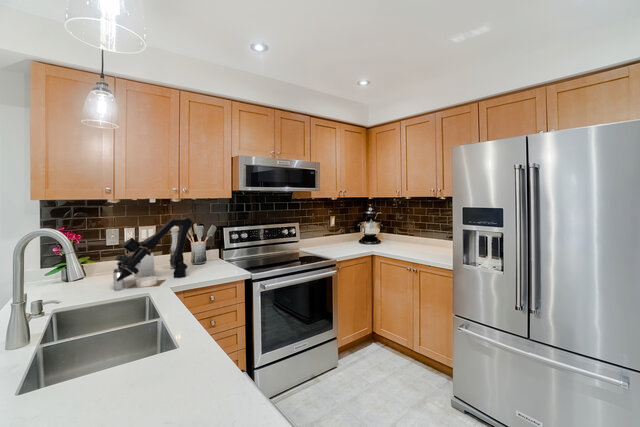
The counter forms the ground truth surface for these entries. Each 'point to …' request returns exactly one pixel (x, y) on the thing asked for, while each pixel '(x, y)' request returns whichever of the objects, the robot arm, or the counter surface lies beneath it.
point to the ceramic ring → (146, 281)
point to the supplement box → (146, 266)
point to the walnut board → (147, 286)
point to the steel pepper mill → (118, 284)
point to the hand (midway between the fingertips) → (115, 280)
